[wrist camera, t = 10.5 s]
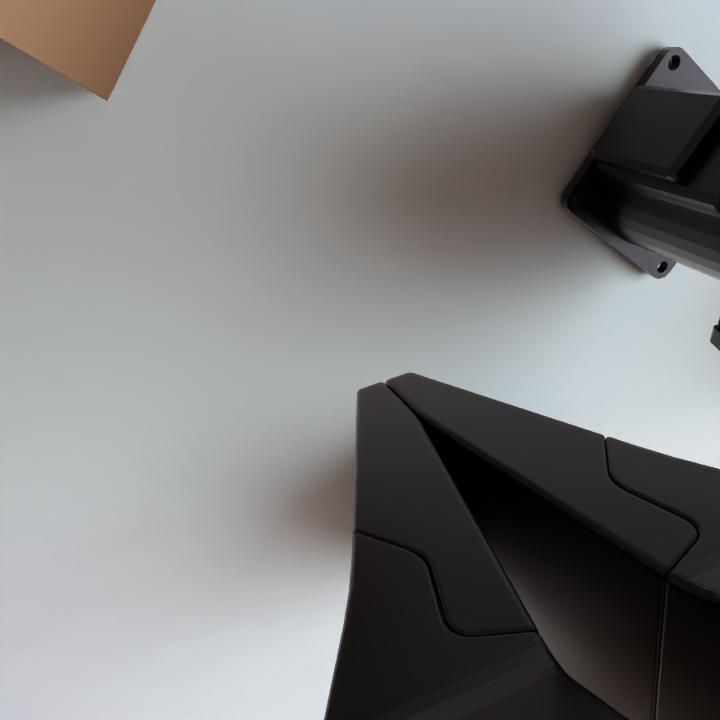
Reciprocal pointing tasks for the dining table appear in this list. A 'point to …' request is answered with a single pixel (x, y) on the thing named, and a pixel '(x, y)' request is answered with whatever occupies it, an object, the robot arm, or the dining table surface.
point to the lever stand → (76, 36)
